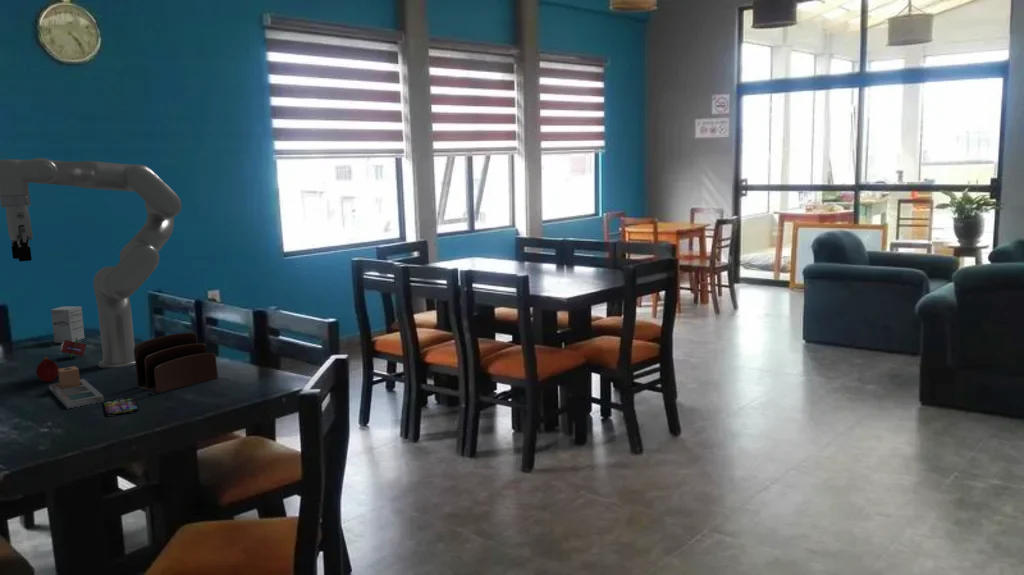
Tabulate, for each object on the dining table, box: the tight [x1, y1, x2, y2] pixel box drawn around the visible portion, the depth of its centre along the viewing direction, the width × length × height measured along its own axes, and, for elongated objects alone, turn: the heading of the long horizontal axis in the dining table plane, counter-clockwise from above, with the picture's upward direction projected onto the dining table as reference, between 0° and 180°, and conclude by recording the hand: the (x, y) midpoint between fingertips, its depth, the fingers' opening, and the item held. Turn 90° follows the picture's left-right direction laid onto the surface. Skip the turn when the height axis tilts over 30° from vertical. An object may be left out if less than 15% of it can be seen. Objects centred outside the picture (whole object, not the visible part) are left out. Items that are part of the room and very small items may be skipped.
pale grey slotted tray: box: [49, 378, 105, 410], centre depth 229 cm, size 9×24×2 cm, turn 38°
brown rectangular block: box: [58, 365, 81, 389], centre depth 234 cm, size 4×4×6 cm
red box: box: [60, 337, 88, 359], centre depth 277 cm, size 7×7×8 cm
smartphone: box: [103, 396, 140, 416], centre depth 218 cm, size 8×1×15 cm
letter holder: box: [134, 332, 219, 395], centre depth 240 cm, size 10×20×14 cm, turn 144°
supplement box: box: [50, 305, 85, 344], centre depth 302 cm, size 7×7×13 cm
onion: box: [35, 356, 60, 383], centre depth 244 cm, size 6×6×8 cm
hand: (22, 259), depth 245 cm, fingers open, 9 cm apart
